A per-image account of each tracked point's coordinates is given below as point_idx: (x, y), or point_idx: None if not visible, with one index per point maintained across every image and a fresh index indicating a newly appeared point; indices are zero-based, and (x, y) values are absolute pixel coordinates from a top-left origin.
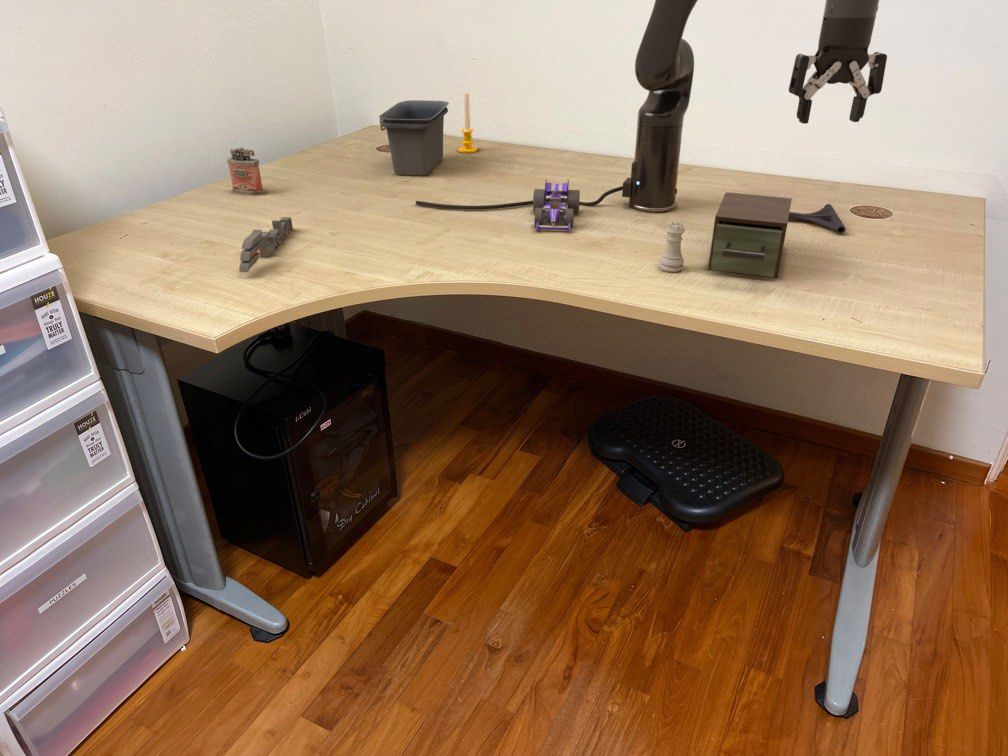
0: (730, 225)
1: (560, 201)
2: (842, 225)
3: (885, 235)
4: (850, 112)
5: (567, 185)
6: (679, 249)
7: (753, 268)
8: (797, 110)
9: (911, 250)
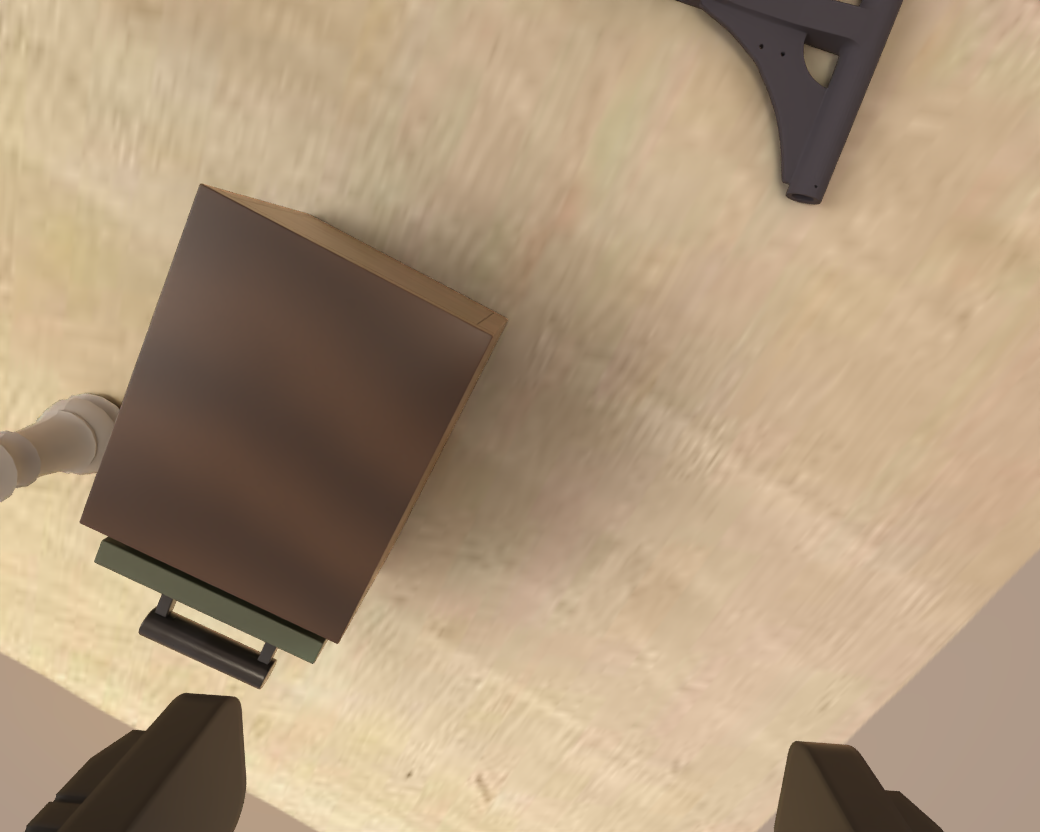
0: (146, 568)
1: None
2: (817, 189)
3: (964, 233)
4: (834, 798)
5: None
6: (61, 468)
7: None
8: (43, 811)
9: (943, 395)
